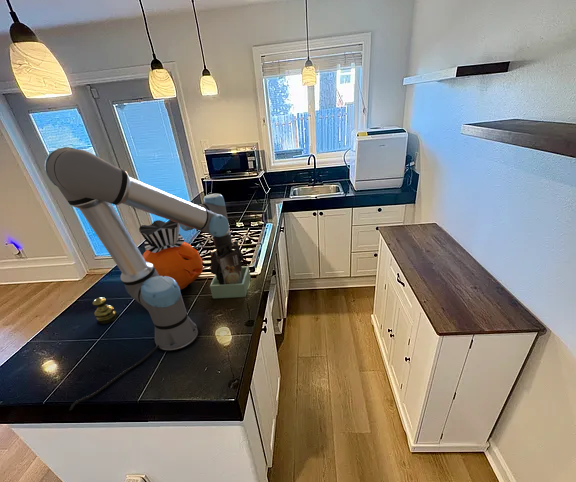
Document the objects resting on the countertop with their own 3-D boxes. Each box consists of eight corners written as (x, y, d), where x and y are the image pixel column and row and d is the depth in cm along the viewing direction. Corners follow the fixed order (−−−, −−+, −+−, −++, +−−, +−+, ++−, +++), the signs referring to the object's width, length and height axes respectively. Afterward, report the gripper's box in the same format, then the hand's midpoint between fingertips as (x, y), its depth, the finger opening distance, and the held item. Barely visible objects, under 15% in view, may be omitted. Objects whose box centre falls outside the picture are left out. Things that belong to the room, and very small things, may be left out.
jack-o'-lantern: (211, 290, 143) (195, 226, 126) (151, 305, 136) (125, 241, 119) (202, 266, 164) (187, 209, 148) (149, 278, 157) (127, 220, 141)
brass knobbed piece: (121, 314, 132) (112, 294, 127) (108, 325, 126) (98, 304, 121) (107, 313, 134) (97, 293, 129) (94, 323, 128) (83, 303, 123)
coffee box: (237, 279, 147) (230, 247, 138) (244, 284, 143) (238, 251, 134) (220, 287, 143) (212, 254, 134) (227, 292, 138) (219, 259, 129)
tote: (245, 296, 136) (243, 284, 133) (212, 298, 137) (209, 286, 134) (250, 278, 150) (248, 266, 146) (220, 279, 151) (218, 268, 147)
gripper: (205, 244, 120) (217, 294, 132) (246, 226, 133) (254, 272, 146) (193, 241, 124) (206, 289, 137) (235, 223, 138) (243, 268, 150)
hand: (231, 280), depth 141 cm, fingers closed on coffee box, 9 cm apart
